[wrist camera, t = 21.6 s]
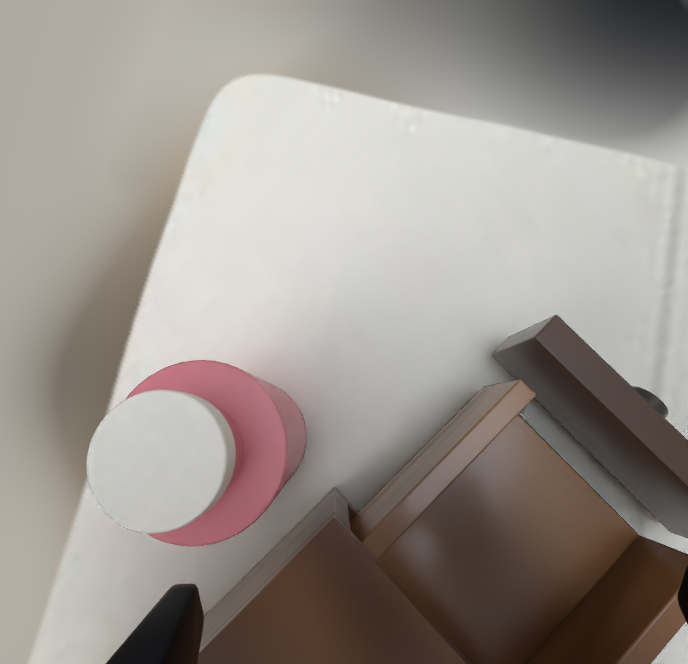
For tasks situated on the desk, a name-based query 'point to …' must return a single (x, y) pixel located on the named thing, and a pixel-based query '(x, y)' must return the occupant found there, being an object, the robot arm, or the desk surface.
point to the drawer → (540, 516)
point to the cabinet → (322, 605)
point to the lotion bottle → (195, 453)
